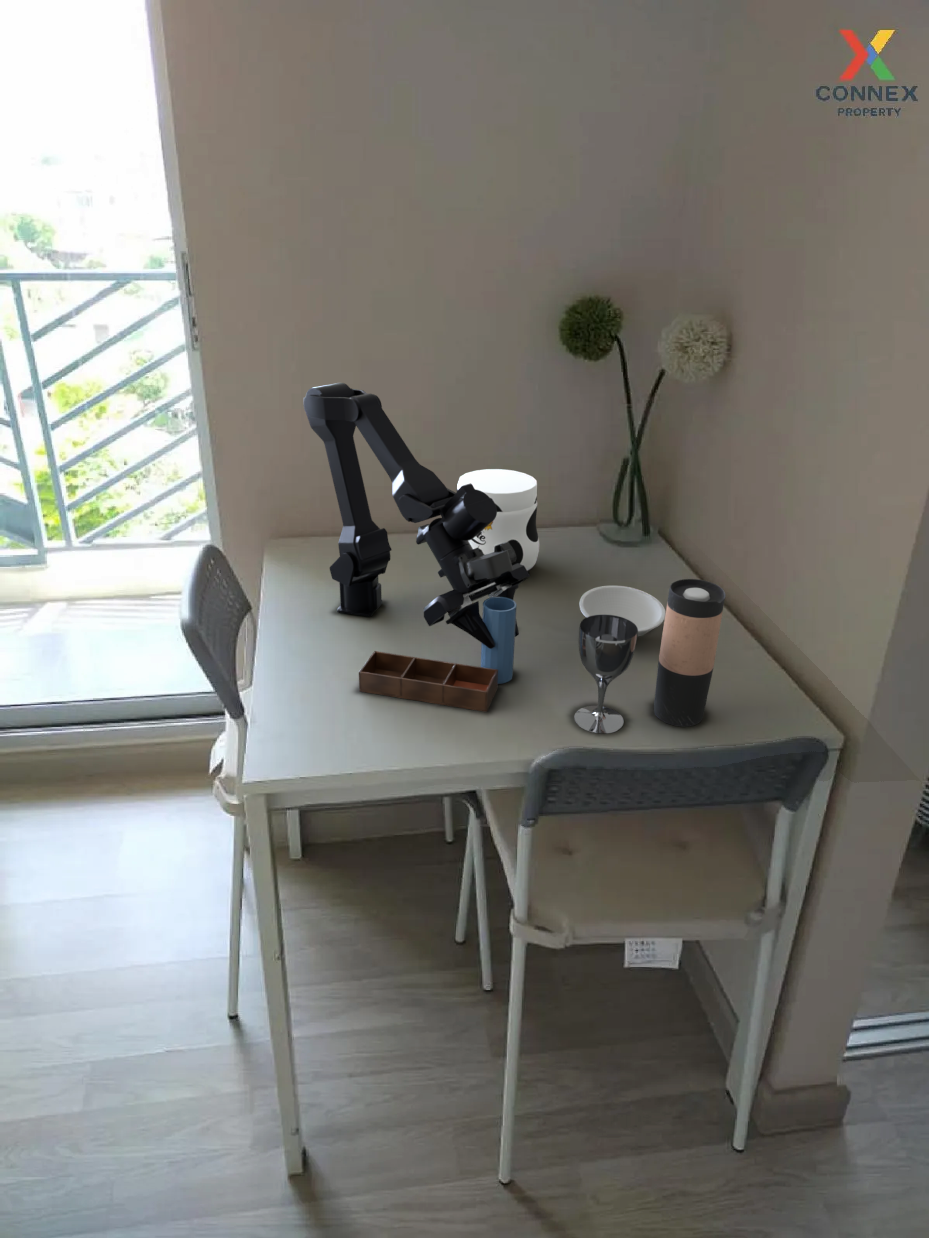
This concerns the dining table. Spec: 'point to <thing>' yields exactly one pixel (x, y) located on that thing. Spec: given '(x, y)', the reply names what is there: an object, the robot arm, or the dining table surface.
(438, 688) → the caddy
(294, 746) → the dining table surface
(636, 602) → the dish
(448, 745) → the dining table surface
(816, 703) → the dining table surface
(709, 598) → the travel mug
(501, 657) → the tumbler
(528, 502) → the milk container
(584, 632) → the wine glass
